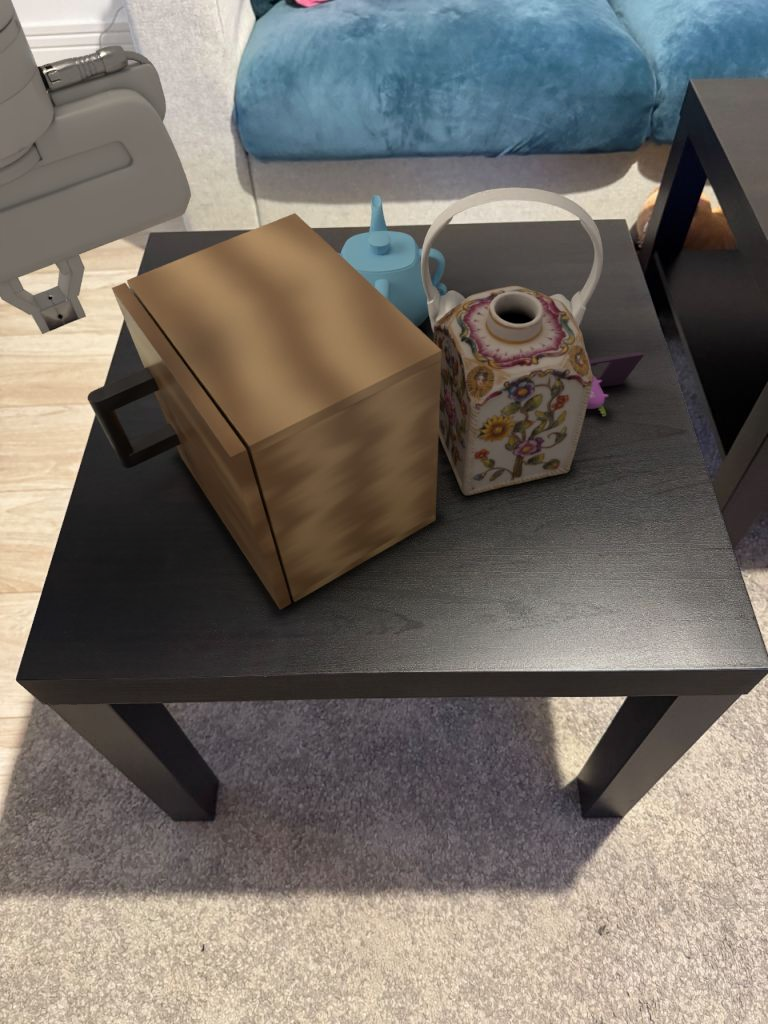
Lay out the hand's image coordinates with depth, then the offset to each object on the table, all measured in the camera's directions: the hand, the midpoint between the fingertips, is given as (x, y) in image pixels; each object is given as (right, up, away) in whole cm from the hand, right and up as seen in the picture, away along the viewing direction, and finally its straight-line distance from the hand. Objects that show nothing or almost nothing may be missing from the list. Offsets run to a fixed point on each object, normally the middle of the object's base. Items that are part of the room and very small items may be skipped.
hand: (61, 320), depth 47 cm
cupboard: (+13, -9, +28) cm, 32 cm away
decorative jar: (+33, -5, +30) cm, 45 cm away
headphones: (+34, +6, +39) cm, 52 cm away
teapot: (+20, +12, +44) cm, 50 cm away
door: (+3, -15, +25) cm, 29 cm away
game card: (+43, 0, +34) cm, 55 cm away
